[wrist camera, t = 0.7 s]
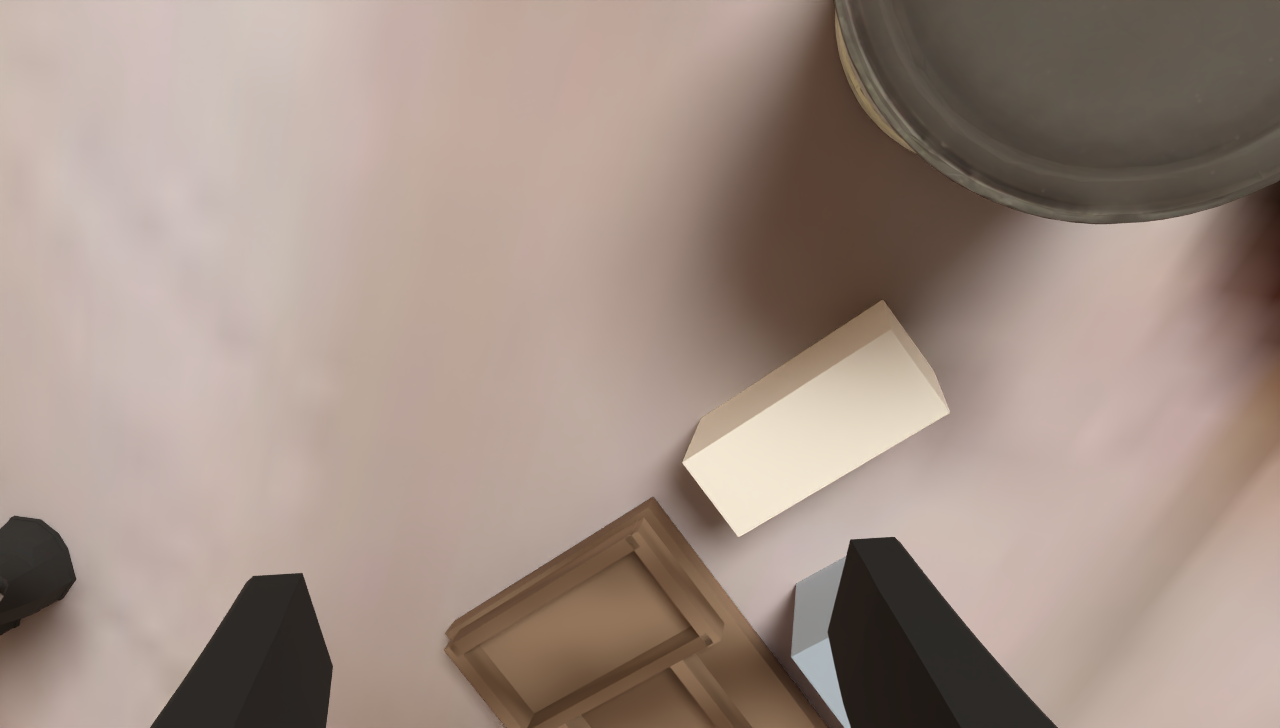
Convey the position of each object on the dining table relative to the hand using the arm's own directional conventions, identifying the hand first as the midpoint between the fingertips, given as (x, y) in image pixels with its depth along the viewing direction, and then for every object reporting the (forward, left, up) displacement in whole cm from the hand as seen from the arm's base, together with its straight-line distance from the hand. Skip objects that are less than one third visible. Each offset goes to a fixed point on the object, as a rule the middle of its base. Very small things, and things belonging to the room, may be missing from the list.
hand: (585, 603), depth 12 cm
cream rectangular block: (-5, 0, -21) cm, 22 cm away
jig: (-12, +13, -21) cm, 28 cm away
